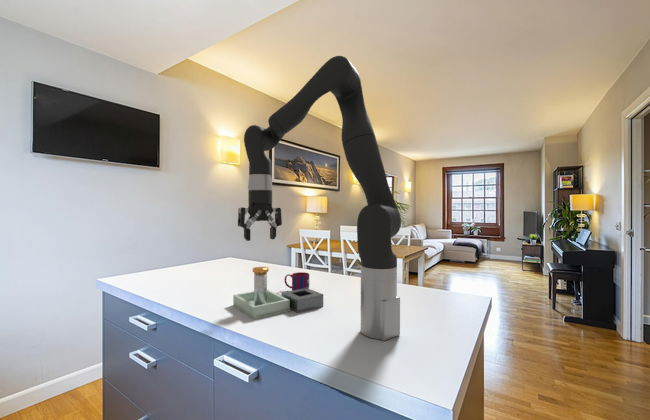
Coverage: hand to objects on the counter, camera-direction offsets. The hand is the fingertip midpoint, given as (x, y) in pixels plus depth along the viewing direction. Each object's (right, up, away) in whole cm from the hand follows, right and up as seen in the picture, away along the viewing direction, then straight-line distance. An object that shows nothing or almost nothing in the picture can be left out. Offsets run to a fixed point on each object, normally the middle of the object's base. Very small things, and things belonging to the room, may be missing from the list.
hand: (260, 239), depth 96 cm
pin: (0, -21, 0) cm, 21 cm away
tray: (0, -22, 0) cm, 22 cm away
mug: (+10, -22, +20) cm, 32 cm away
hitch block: (+13, -22, +3) cm, 26 cm away
